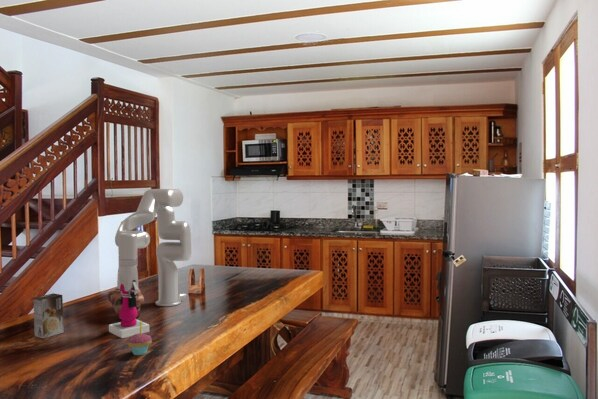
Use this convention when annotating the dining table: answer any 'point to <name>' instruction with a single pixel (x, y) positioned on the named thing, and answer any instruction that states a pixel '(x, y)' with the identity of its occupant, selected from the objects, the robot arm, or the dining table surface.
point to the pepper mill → (127, 310)
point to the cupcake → (139, 342)
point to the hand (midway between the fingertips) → (128, 305)
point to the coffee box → (48, 315)
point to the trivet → (128, 329)
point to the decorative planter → (117, 301)
